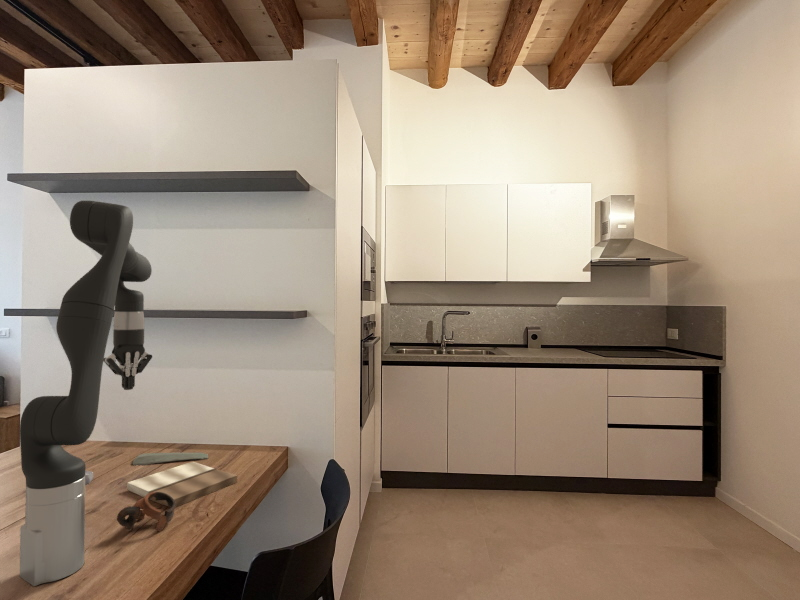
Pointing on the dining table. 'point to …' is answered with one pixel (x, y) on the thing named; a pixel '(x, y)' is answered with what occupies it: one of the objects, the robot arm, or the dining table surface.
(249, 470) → the dining table surface
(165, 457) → the stone slab
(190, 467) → the ash plank
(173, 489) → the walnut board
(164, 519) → the brown ringed bracket
